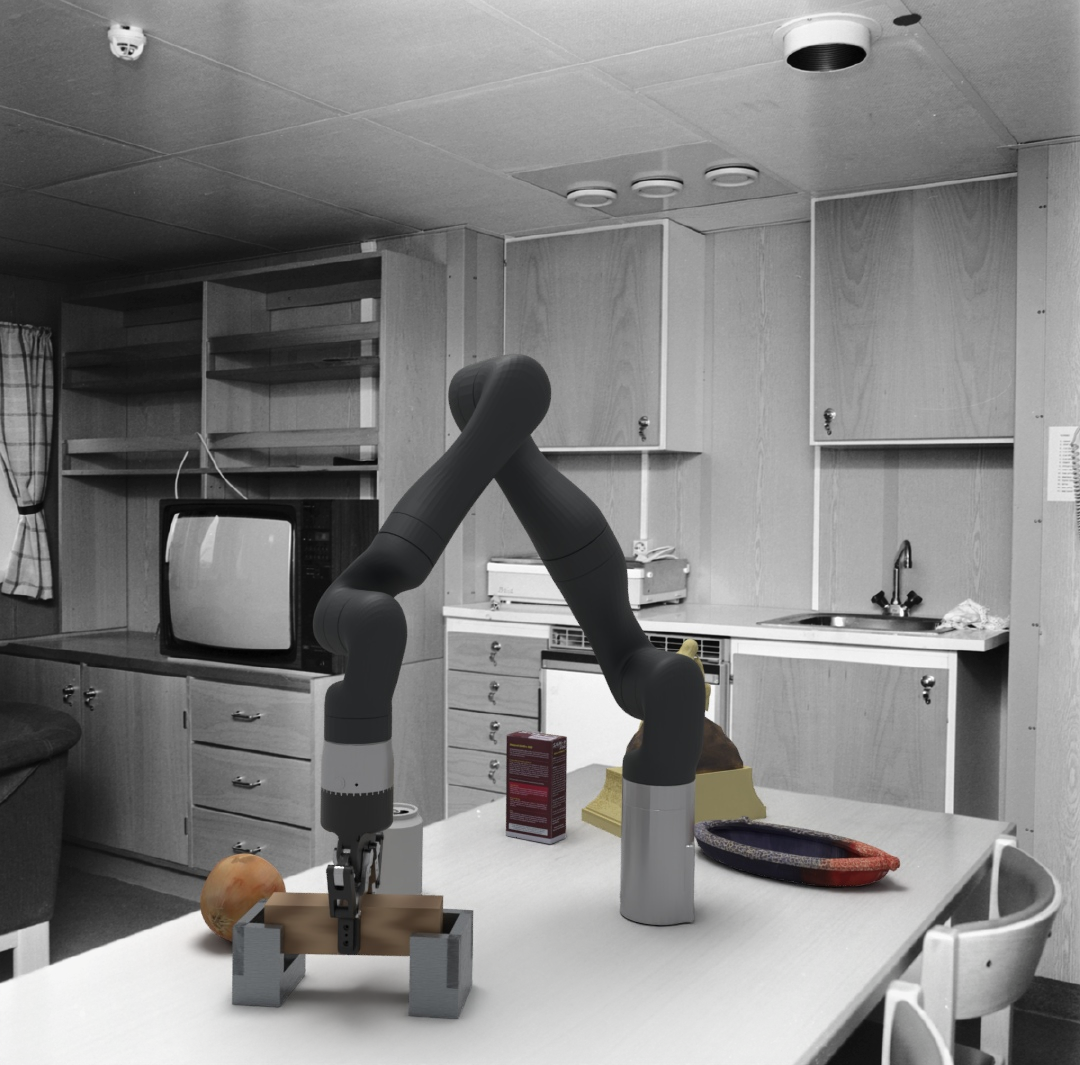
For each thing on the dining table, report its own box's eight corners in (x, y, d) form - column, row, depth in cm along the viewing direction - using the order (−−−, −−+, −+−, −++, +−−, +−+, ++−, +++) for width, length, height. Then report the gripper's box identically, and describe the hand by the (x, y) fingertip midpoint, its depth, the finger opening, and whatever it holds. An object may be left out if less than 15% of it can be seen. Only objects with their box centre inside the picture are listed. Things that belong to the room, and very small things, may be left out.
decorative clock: (716, 801, 204) (719, 630, 203) (765, 818, 193) (769, 638, 192) (581, 821, 189) (584, 638, 189) (626, 841, 178) (629, 646, 178)
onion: (299, 927, 140) (300, 845, 140) (263, 959, 130) (264, 870, 130) (225, 920, 142) (226, 839, 142) (184, 951, 132) (184, 864, 132)
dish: (721, 838, 181) (722, 806, 181) (915, 879, 162) (916, 844, 162) (669, 861, 169) (669, 827, 169) (872, 909, 150) (873, 871, 150)
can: (411, 911, 146) (412, 817, 146) (355, 906, 147) (356, 813, 147) (429, 892, 153) (430, 802, 153) (375, 887, 155) (376, 798, 154)
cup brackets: (472, 984, 124) (473, 910, 124) (458, 1018, 116) (459, 939, 115) (260, 971, 127) (261, 898, 126) (232, 1004, 118) (232, 926, 118)
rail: (442, 942, 123) (443, 895, 123) (438, 957, 119) (439, 908, 119) (273, 939, 123) (273, 892, 123) (264, 953, 119) (264, 905, 119)
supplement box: (567, 838, 179) (569, 735, 179) (550, 845, 175) (552, 740, 175) (520, 829, 184) (522, 729, 183) (503, 836, 180) (505, 734, 179)
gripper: (375, 800, 113) (373, 974, 114) (408, 767, 127) (406, 922, 128) (300, 796, 114) (298, 969, 114) (341, 764, 128) (339, 918, 129)
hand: (355, 943), depth 121 cm, fingers closed on rail, 4 cm apart
